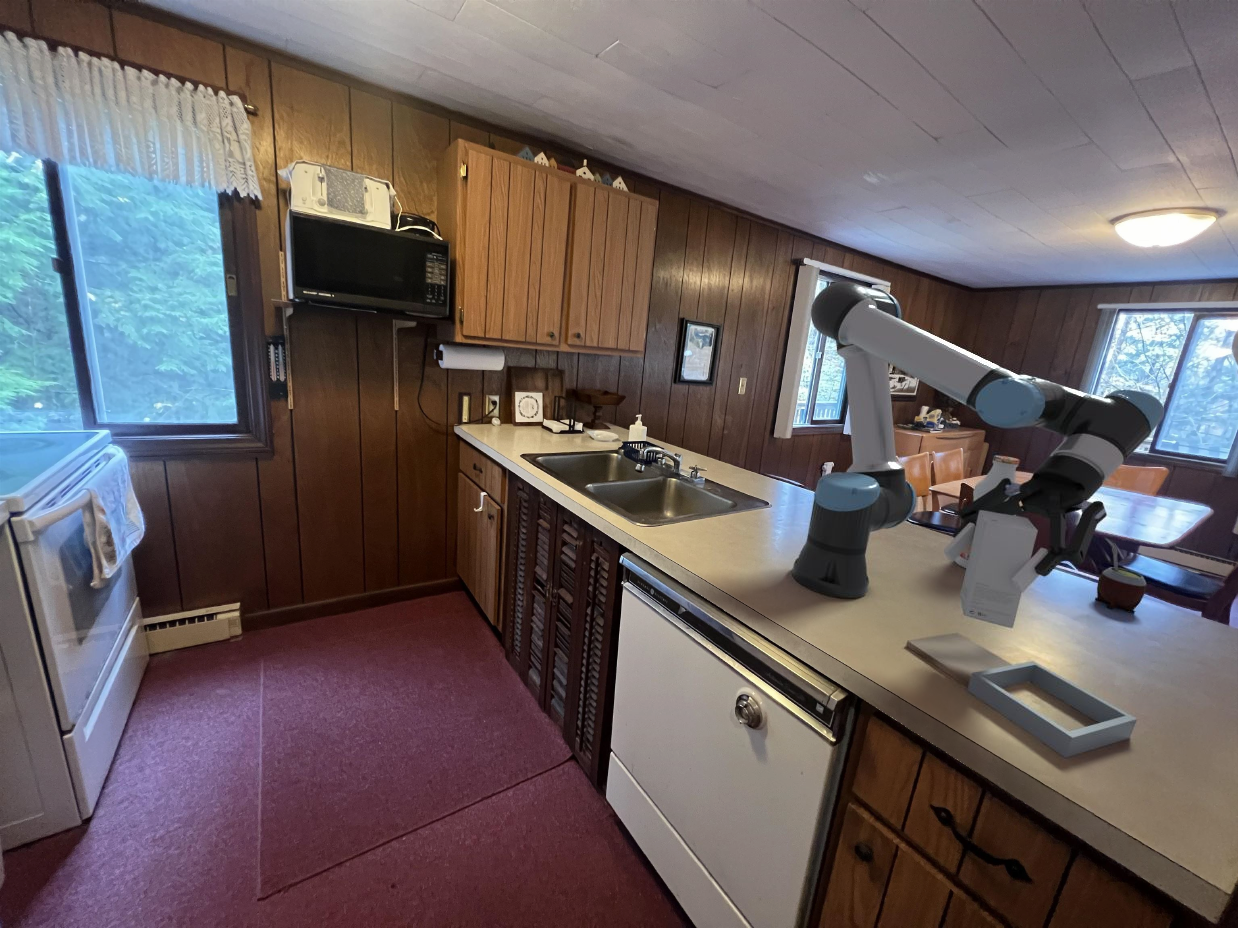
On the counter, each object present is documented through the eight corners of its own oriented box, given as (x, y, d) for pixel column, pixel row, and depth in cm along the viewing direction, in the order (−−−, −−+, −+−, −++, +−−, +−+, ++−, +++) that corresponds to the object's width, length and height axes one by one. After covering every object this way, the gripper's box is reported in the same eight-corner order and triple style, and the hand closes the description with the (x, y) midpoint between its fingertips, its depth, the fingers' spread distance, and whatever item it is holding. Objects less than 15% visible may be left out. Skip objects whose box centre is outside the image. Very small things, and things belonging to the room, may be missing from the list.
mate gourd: (1141, 610, 104) (1165, 545, 101) (1130, 618, 100) (1154, 551, 97) (1095, 594, 110) (1116, 532, 107) (1083, 601, 106) (1104, 537, 103)
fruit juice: (946, 557, 125) (973, 451, 119) (985, 561, 125) (1014, 455, 118) (968, 573, 116) (998, 459, 110) (1009, 578, 115) (1042, 464, 109)
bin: (966, 690, 72) (972, 672, 72) (1027, 677, 77) (1032, 660, 76) (1065, 757, 61) (1072, 737, 60) (1130, 737, 65) (1137, 718, 65)
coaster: (906, 645, 83) (907, 640, 83) (956, 637, 87) (957, 632, 87) (969, 688, 73) (971, 682, 72) (1022, 677, 77) (1024, 671, 76)
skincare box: (1012, 630, 72) (1041, 531, 68) (959, 615, 75) (984, 520, 72) (1005, 607, 79) (1030, 517, 75) (956, 594, 82) (979, 507, 79)
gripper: (1177, 508, 67) (1072, 622, 66) (1006, 468, 88) (923, 555, 86) (1168, 471, 64) (1058, 590, 63) (994, 439, 85) (907, 528, 83)
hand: (980, 570), depth 74 cm, fingers closed on skincare box, 10 cm apart
